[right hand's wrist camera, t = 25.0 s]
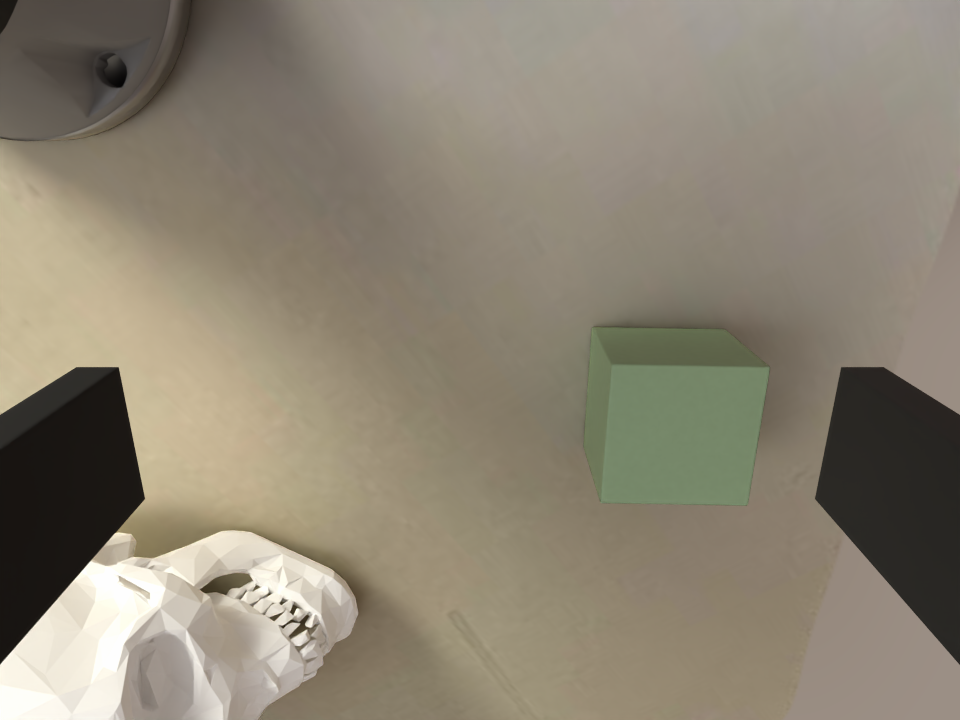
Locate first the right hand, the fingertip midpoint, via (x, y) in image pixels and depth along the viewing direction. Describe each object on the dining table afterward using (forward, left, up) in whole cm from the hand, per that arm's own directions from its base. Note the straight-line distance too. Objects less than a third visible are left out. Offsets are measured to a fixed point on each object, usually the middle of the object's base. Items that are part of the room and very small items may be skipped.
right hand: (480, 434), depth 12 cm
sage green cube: (+9, -8, -23) cm, 25 cm away
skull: (-18, -22, -23) cm, 36 cm away
